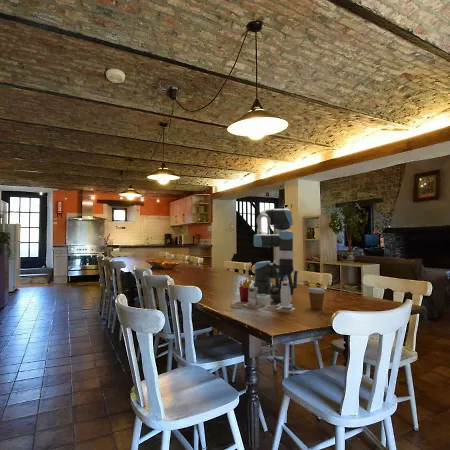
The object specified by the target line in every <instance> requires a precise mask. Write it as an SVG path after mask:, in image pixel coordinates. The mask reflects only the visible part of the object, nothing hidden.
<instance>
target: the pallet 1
mask: <svg viewBox="0 0 450 450" xmlns="http://www.w3.org/2000/svg"><path fill="white" fill-rule="evenodd" d="M257 295H258V294H257V287H253V286H252V287H251V286H250V287H249V288H248V302H240V301H235V302H233V303H231V308H236V309H241V310H242V309H244V308H246V309H253V310H258V309H260V308H262V307H263V306H262V304H257Z"/></svg>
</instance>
